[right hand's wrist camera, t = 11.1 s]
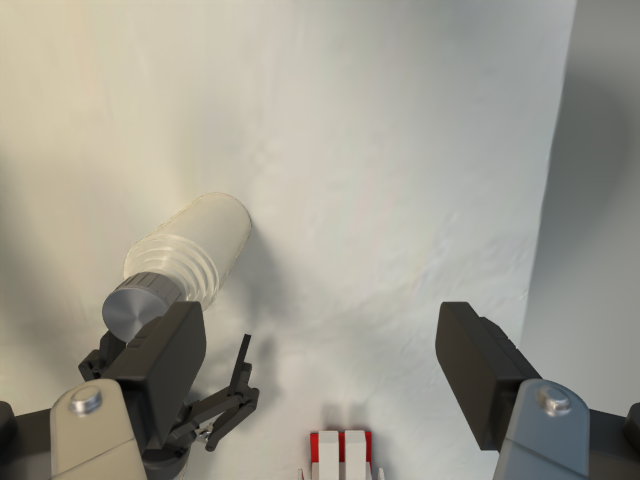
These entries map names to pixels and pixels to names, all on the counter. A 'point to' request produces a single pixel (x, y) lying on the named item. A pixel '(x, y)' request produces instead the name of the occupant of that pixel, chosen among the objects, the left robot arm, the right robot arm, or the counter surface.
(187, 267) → the ribbed frosted cylinder
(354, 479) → the toy
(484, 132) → the counter surface
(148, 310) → the cap
